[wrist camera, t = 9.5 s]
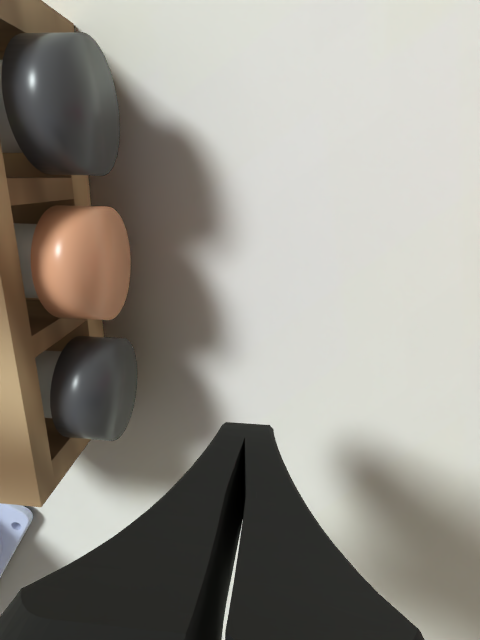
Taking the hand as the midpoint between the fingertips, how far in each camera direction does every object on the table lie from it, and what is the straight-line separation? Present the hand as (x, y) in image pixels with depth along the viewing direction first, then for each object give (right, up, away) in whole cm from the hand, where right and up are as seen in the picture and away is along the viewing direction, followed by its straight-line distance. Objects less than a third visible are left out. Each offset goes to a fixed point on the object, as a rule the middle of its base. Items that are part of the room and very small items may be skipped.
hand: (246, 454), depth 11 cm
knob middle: (-7, +6, +4) cm, 10 cm away
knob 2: (-7, +2, +5) cm, 9 cm away
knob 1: (-7, +11, +2) cm, 13 cm away
